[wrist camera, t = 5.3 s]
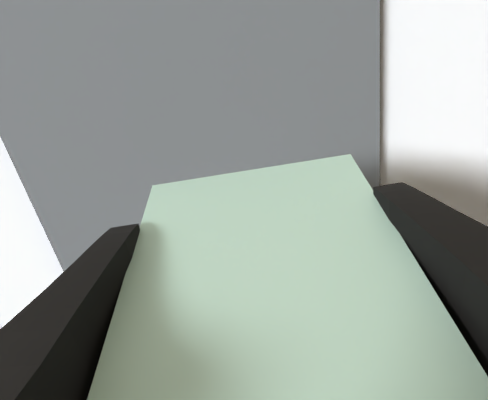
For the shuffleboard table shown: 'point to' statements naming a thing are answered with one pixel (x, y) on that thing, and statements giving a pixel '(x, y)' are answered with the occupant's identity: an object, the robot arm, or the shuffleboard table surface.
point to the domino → (279, 297)
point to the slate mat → (177, 98)
